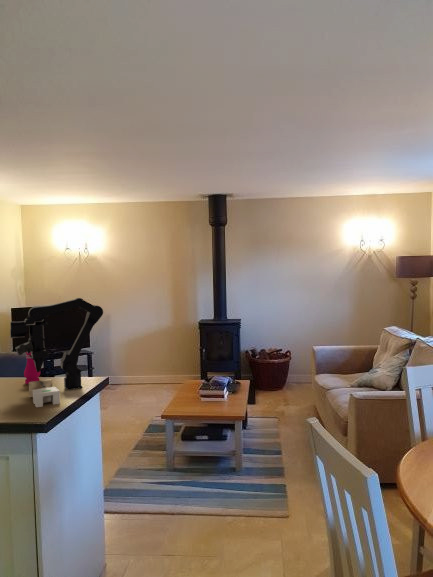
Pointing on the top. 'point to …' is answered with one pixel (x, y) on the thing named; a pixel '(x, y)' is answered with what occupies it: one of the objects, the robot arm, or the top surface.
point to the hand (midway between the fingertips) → (38, 371)
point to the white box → (40, 385)
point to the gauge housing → (42, 392)
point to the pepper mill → (30, 370)
